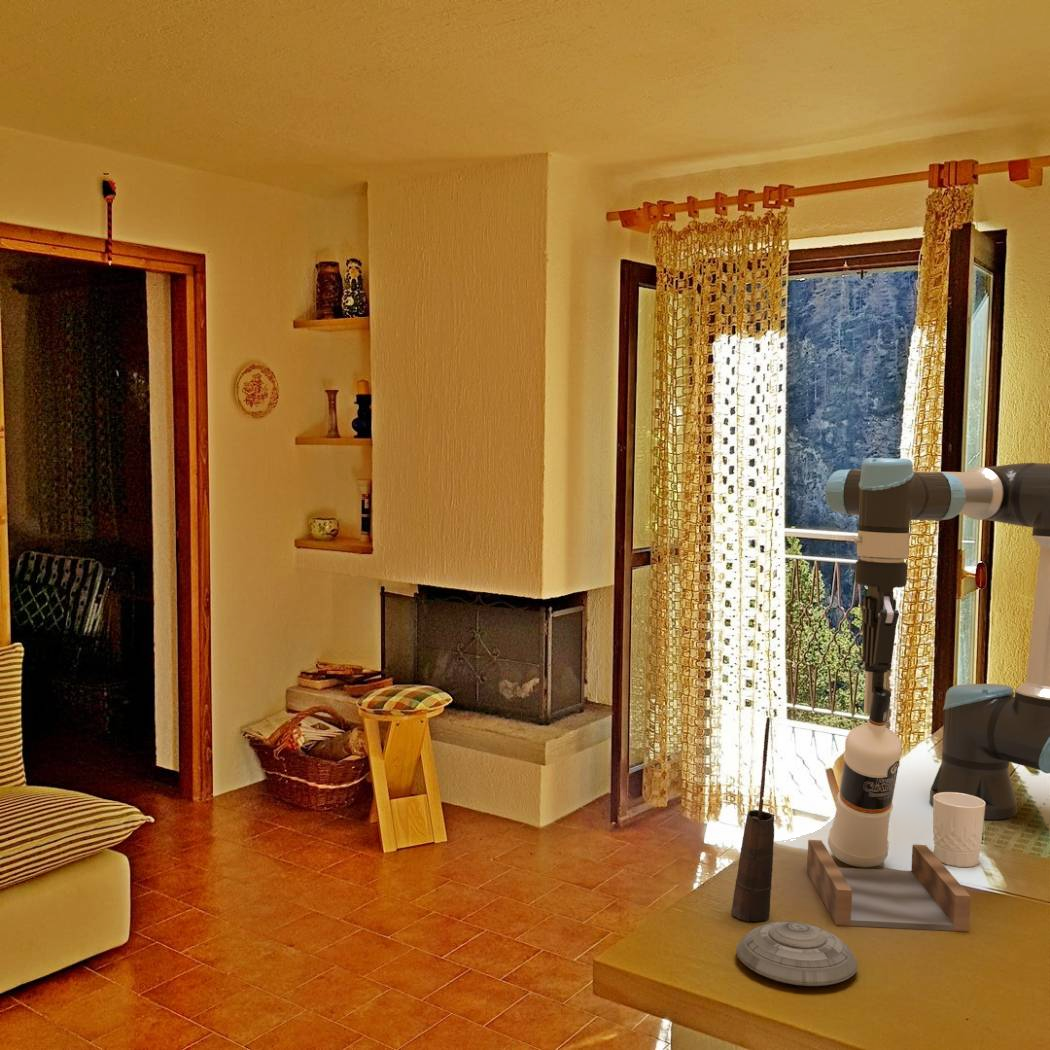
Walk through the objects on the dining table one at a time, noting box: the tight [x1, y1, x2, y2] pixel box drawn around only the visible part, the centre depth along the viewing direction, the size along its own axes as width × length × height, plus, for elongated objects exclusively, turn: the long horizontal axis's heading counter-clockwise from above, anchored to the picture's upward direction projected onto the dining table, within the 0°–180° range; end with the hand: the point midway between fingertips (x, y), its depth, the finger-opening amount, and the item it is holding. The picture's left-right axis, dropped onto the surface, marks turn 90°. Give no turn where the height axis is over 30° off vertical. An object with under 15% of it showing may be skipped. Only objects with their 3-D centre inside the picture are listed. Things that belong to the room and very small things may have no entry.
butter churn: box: [731, 716, 775, 923], centre depth 155 cm, size 9×10×28 cm
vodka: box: [827, 687, 903, 868], centre depth 173 cm, size 9×9×30 cm
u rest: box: [806, 839, 971, 933], centre depth 163 cm, size 20×18×5 cm
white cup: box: [932, 792, 986, 868], centre depth 180 cm, size 8×8×10 cm
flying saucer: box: [735, 920, 859, 987], centre depth 141 cm, size 15×15×6 cm
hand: (873, 712), depth 171 cm, fingers closed
